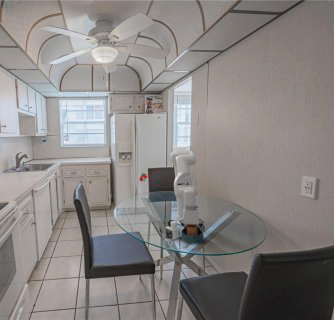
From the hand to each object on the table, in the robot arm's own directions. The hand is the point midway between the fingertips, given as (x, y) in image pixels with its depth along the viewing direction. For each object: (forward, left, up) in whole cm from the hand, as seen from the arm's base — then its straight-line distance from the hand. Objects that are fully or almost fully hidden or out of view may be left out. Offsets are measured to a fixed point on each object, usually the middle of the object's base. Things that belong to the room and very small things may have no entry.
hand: (192, 232), depth 145 cm
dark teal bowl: (0, 0, -5) cm, 5 cm away
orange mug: (-1, +1, -4) cm, 5 cm away
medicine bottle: (-11, -7, -5) cm, 14 cm away
